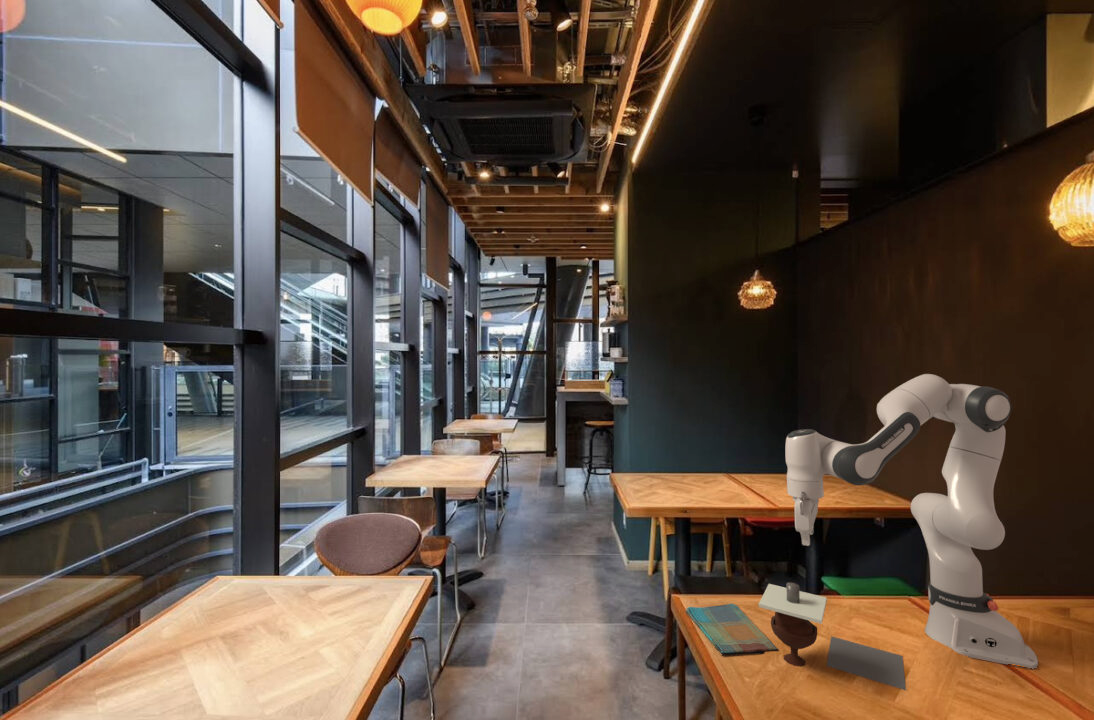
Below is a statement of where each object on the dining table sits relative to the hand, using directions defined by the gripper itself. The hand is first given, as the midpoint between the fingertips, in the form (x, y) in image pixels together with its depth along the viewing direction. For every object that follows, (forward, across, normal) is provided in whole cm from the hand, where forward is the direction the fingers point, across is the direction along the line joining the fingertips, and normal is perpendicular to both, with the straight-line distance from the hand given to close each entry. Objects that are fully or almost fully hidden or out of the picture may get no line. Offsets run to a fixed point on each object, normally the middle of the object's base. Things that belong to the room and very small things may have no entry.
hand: (808, 539), depth 127 cm
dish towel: (+29, -5, +21) cm, 37 cm away
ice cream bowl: (+29, -10, +4) cm, 31 cm away
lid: (+14, -10, +3) cm, 18 cm away
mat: (+30, -1, -12) cm, 32 cm away
